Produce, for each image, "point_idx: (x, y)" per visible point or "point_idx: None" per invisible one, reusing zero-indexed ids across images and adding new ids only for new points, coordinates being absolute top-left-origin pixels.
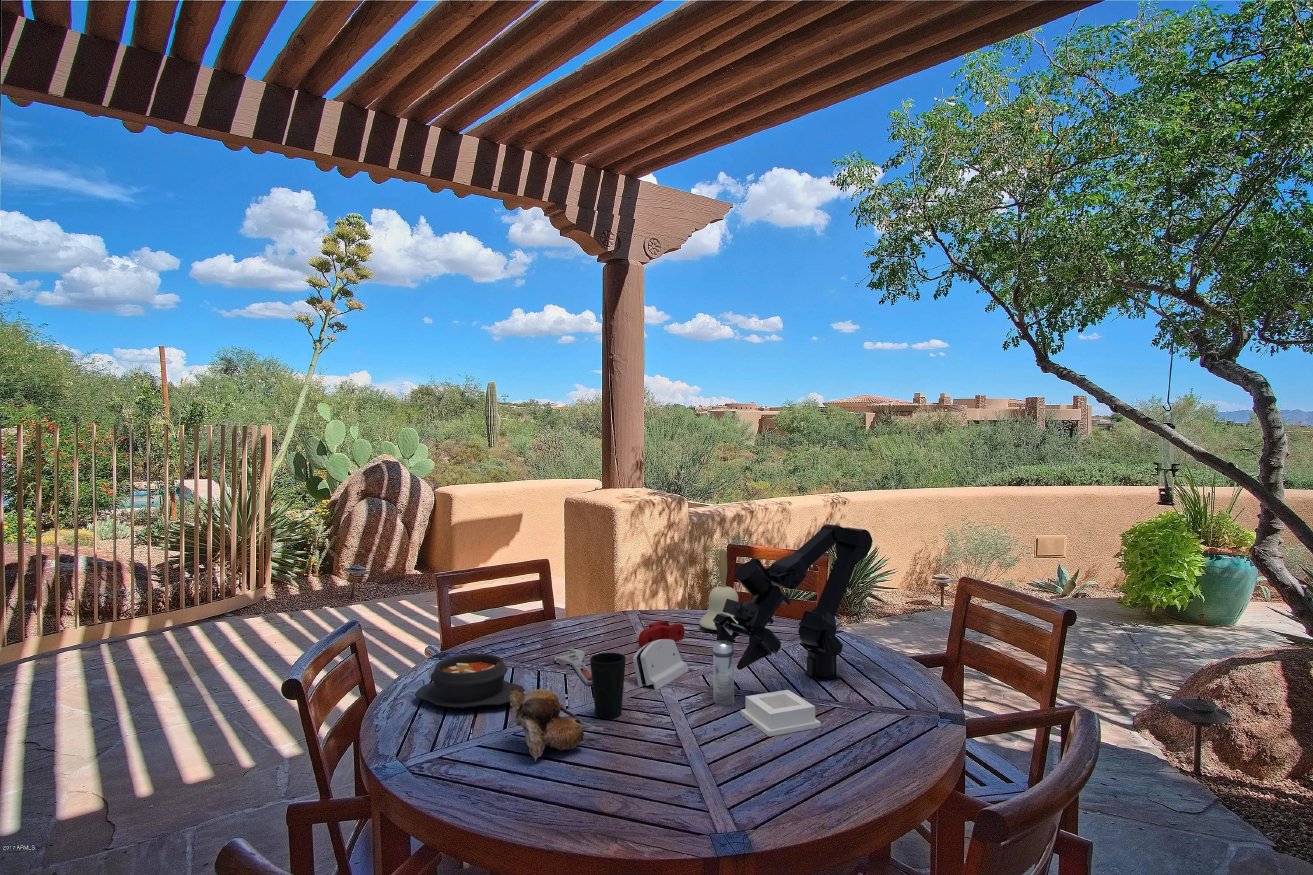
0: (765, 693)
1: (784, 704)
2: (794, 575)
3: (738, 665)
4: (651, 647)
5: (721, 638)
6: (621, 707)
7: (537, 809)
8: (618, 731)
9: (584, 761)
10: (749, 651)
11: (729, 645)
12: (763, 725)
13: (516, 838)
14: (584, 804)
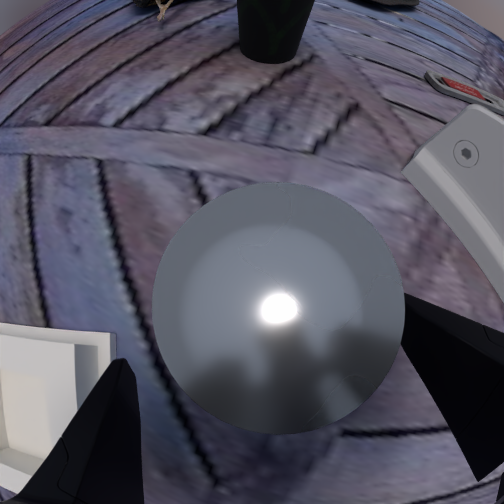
0: None
1: None
2: None
3: (109, 366)
4: None
5: (491, 370)
6: (254, 49)
7: (55, 9)
8: (172, 46)
9: (106, 20)
10: (46, 463)
11: (165, 337)
12: (1, 329)
13: (35, 10)
14: (30, 34)
